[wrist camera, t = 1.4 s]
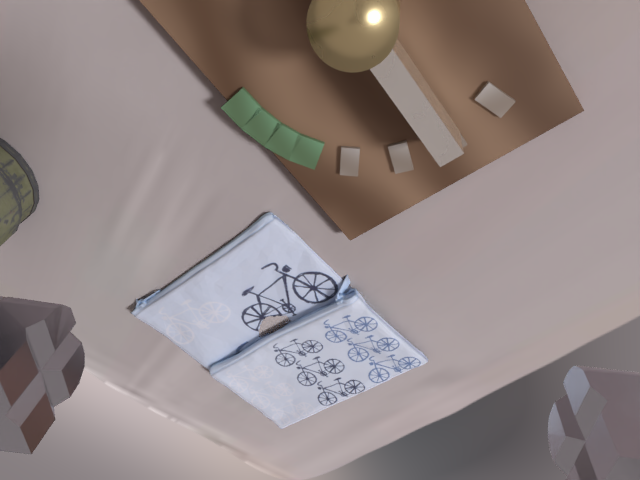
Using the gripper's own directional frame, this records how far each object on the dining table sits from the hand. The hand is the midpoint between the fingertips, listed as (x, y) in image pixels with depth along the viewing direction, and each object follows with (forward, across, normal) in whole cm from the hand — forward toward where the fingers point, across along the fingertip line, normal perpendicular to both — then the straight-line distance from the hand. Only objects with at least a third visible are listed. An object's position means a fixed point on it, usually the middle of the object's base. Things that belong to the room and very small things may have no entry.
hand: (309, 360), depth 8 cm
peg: (+25, -1, +1) cm, 25 cm away
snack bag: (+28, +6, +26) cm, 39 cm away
